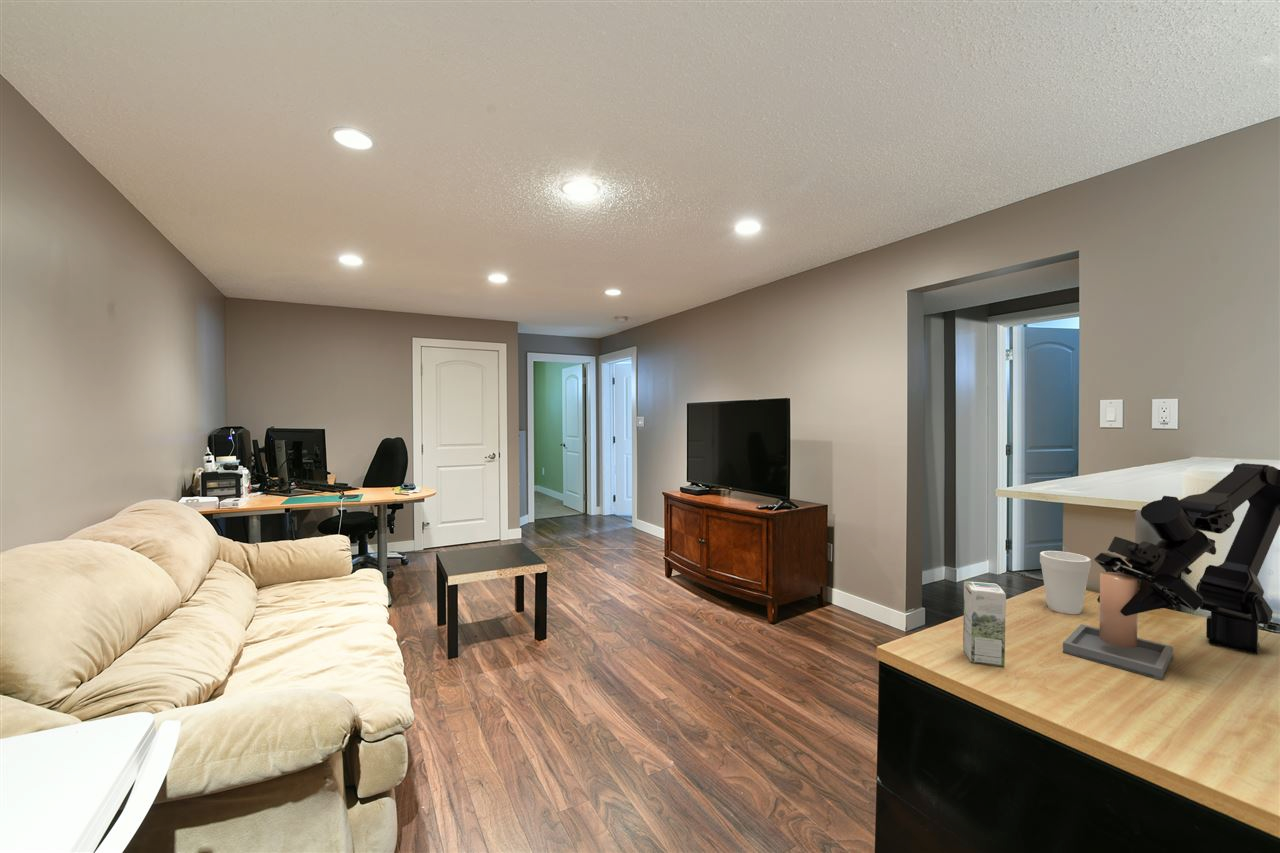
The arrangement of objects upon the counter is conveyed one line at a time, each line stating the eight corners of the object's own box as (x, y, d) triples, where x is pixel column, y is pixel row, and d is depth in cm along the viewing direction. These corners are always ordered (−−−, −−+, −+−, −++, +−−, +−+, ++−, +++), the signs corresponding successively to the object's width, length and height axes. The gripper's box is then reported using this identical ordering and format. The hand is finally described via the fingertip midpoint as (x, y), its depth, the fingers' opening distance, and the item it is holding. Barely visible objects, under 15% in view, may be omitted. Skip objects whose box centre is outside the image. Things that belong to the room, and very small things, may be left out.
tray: (1173, 656, 101) (1173, 646, 101) (1161, 680, 93) (1161, 669, 93) (1081, 633, 112) (1081, 624, 112) (1062, 652, 104) (1063, 642, 104)
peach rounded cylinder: (1139, 642, 102) (1140, 576, 102) (1134, 650, 99) (1135, 582, 98) (1102, 632, 106) (1103, 570, 106) (1096, 640, 103) (1097, 575, 103)
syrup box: (995, 654, 103) (996, 582, 103) (1005, 668, 98) (1006, 592, 97) (962, 650, 105) (963, 579, 105) (970, 663, 100) (971, 589, 99)
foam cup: (1100, 616, 121) (1101, 561, 121) (1060, 617, 121) (1060, 562, 121) (1067, 601, 130) (1068, 550, 130) (1030, 602, 131) (1030, 550, 130)
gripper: (1104, 514, 111) (1048, 565, 112) (1185, 535, 92) (1116, 595, 94) (1144, 551, 110) (1087, 602, 112) (1235, 580, 91) (1164, 640, 93)
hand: (1110, 608), depth 102 cm, fingers closed on peach rounded cylinder, 5 cm apart
